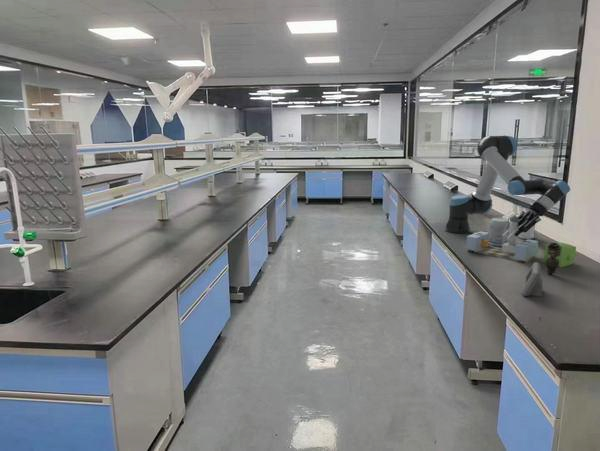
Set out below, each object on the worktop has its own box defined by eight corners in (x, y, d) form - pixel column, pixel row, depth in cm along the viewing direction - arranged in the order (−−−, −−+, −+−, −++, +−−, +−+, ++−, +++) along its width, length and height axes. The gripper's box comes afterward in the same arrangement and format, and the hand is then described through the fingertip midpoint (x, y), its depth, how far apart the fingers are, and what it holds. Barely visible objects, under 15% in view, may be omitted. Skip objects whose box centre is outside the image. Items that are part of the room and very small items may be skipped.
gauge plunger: (475, 244, 224) (475, 239, 223) (477, 243, 226) (478, 238, 225) (486, 246, 220) (486, 241, 219) (488, 245, 222) (489, 240, 221)
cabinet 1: (466, 248, 221) (467, 234, 220) (479, 243, 232) (480, 229, 230) (475, 250, 218) (476, 236, 216) (488, 244, 228) (489, 231, 227)
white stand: (501, 251, 212) (505, 215, 208) (506, 248, 216) (509, 214, 212) (515, 253, 207) (519, 217, 203) (520, 251, 211) (524, 216, 207)
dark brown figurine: (545, 271, 189) (549, 240, 185) (558, 274, 185) (563, 242, 182) (542, 274, 184) (546, 243, 181) (556, 277, 181) (561, 245, 178)
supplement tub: (497, 241, 240) (499, 217, 237) (510, 245, 232) (513, 220, 228) (484, 243, 237) (486, 218, 234) (497, 247, 228) (499, 221, 225)
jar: (527, 239, 243) (530, 220, 241) (514, 237, 250) (516, 218, 247) (535, 237, 248) (538, 218, 245) (522, 235, 255) (524, 216, 252)
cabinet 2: (514, 258, 203) (515, 243, 201) (526, 252, 214) (528, 237, 212) (524, 260, 200) (526, 245, 198) (536, 254, 210) (538, 239, 209)
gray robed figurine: (523, 283, 175) (526, 259, 172) (547, 288, 169) (550, 264, 167) (513, 294, 163) (516, 269, 160) (538, 300, 157) (542, 274, 155)
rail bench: (467, 250, 223) (468, 246, 223) (477, 246, 231) (478, 242, 230) (526, 262, 201) (526, 258, 201) (535, 257, 209) (535, 253, 209)
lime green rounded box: (557, 271, 191) (560, 252, 188) (537, 264, 199) (540, 246, 197) (580, 264, 199) (583, 246, 196) (560, 258, 207) (563, 240, 204)
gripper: (557, 214, 199) (520, 247, 202) (535, 208, 216) (502, 238, 219) (548, 204, 198) (511, 237, 201) (527, 198, 214) (493, 229, 217)
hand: (506, 238), depth 210 cm, fingers open, 4 cm apart
